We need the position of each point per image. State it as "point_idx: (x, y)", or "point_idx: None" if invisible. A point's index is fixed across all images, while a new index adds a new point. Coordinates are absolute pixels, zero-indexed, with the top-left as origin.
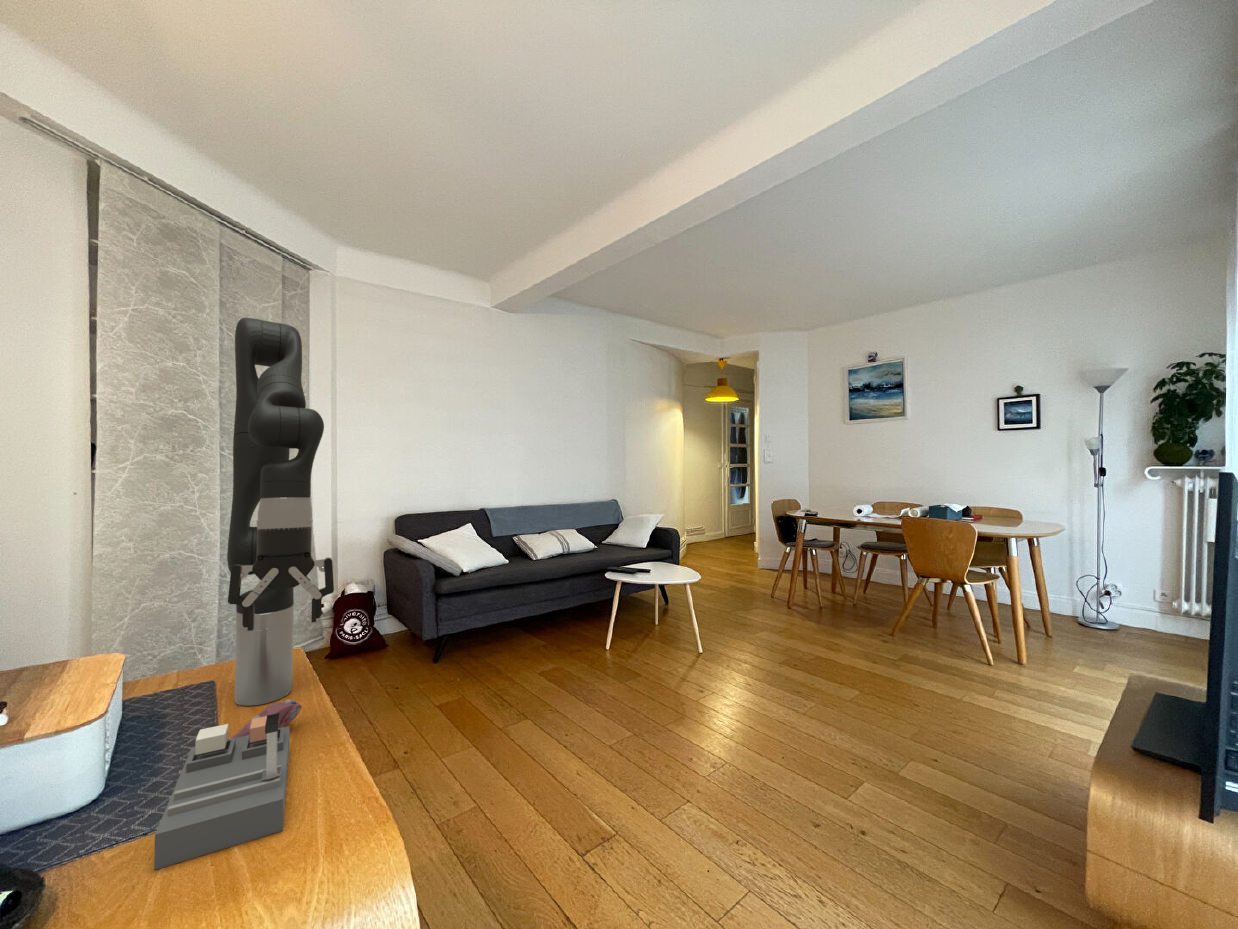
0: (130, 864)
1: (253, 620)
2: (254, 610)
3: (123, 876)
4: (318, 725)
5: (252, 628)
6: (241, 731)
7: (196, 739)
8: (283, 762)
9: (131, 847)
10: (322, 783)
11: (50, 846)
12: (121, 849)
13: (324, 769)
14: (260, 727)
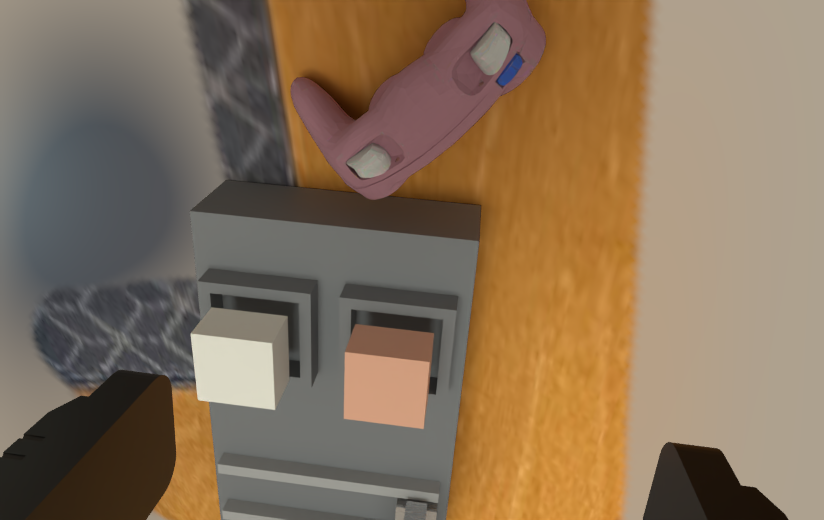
0: (205, 453)
1: (128, 498)
2: (61, 501)
3: (205, 476)
4: (600, 54)
5: (164, 484)
6: (324, 155)
7: (198, 397)
8: (446, 449)
9: (189, 408)
10: (539, 417)
11: (36, 318)
12: (173, 404)
13: (556, 362)
14: (374, 420)
